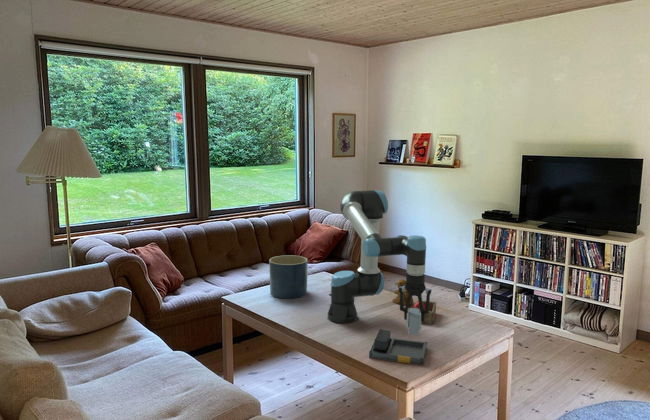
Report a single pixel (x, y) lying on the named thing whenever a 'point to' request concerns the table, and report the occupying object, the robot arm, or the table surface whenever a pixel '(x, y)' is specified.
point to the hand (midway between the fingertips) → (413, 327)
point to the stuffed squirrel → (397, 299)
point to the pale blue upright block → (414, 321)
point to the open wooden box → (430, 315)
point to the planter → (288, 276)
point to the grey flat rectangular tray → (397, 349)
